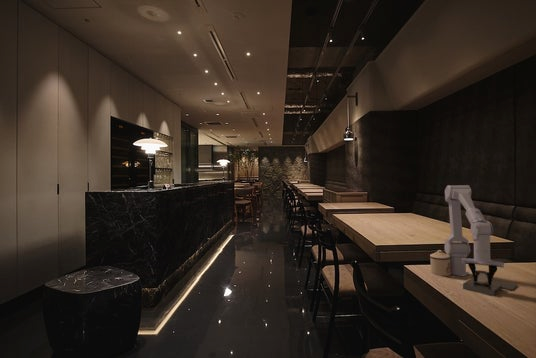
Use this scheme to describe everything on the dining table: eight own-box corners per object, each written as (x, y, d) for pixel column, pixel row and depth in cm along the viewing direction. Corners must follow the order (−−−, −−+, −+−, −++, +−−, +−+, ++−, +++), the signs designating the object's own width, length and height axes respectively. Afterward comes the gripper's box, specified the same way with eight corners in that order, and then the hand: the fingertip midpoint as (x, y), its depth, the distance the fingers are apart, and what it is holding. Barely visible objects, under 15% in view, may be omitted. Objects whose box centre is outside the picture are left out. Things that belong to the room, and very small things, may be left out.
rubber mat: (486, 285, 133) (486, 283, 133) (492, 280, 138) (492, 279, 138) (512, 290, 126) (511, 289, 126) (517, 286, 131) (517, 284, 131)
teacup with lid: (451, 277, 143) (449, 253, 143) (429, 275, 149) (428, 251, 149) (452, 270, 153) (451, 247, 153) (432, 268, 158) (431, 246, 158)
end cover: (476, 289, 127) (476, 272, 127) (475, 285, 131) (475, 269, 131) (489, 291, 125) (489, 273, 125) (488, 287, 129) (488, 270, 129)
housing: (463, 288, 129) (462, 283, 129) (472, 283, 136) (472, 278, 136) (494, 296, 120) (494, 290, 120) (502, 289, 127) (502, 284, 127)
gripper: (462, 250, 128) (462, 282, 128) (505, 254, 121) (505, 287, 121) (461, 247, 134) (461, 277, 134) (502, 250, 127) (502, 282, 127)
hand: (482, 282), depth 128 cm, fingers closed on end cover, 5 cm apart
